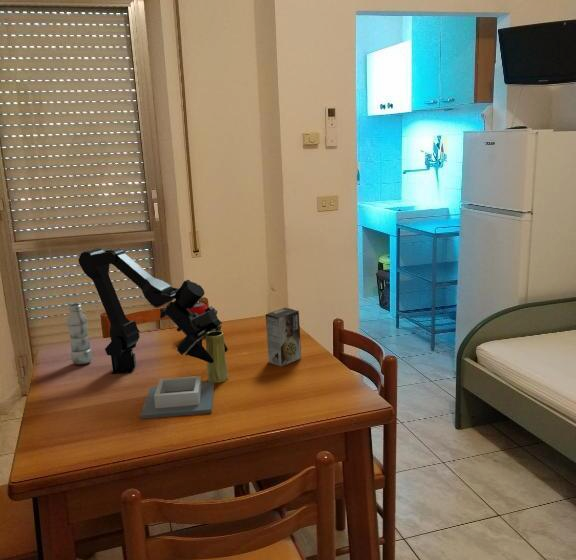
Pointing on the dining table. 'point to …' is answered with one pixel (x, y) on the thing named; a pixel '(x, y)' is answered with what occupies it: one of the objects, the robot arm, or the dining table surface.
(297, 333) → the coffee box
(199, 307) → the soda can
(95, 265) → the robot arm
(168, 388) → the holder
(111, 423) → the dining table surface
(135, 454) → the dining table surface
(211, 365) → the vase
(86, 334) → the plastic bottle
